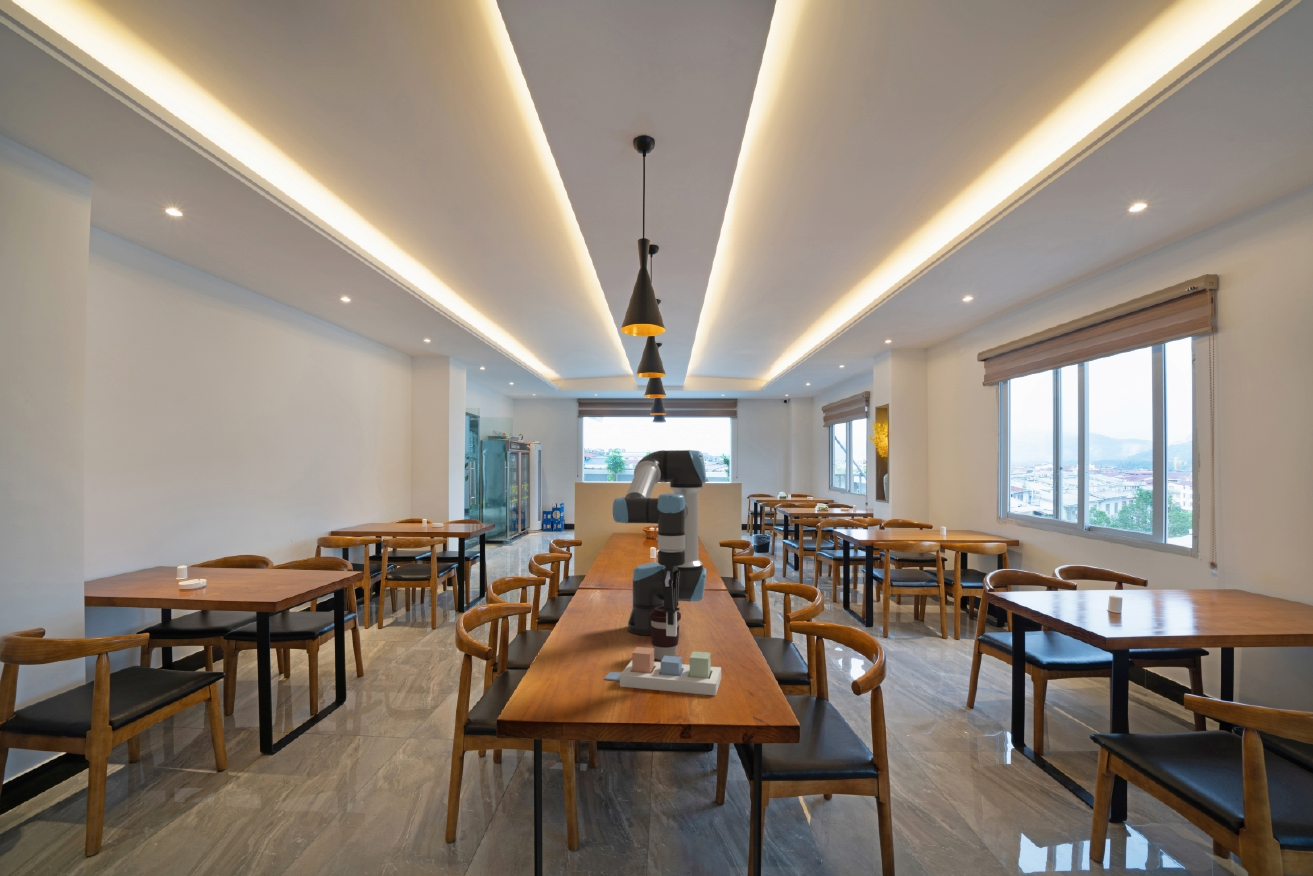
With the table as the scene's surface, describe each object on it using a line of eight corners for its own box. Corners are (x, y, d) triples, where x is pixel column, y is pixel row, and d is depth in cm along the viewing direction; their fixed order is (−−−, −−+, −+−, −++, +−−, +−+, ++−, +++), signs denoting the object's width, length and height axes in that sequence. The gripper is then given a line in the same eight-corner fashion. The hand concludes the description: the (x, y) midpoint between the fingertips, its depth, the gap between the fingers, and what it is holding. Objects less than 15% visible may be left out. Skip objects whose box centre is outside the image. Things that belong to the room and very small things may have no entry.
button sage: (692, 670, 156) (692, 651, 156) (710, 672, 155) (710, 652, 155) (689, 677, 151) (689, 657, 151) (708, 678, 150) (708, 659, 150)
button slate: (664, 674, 158) (664, 655, 158) (682, 675, 157) (682, 657, 157) (660, 681, 153) (660, 661, 153) (678, 682, 152) (678, 663, 152)
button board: (631, 670, 164) (631, 659, 164) (721, 678, 158) (721, 667, 158) (619, 686, 152) (619, 675, 152) (715, 695, 146) (715, 684, 146)
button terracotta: (637, 665, 160) (637, 647, 160) (654, 667, 159) (654, 648, 159) (632, 672, 155) (632, 652, 155) (649, 673, 154) (649, 654, 154)
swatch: (610, 673, 161) (610, 671, 161) (626, 674, 160) (626, 673, 160) (604, 679, 157) (604, 678, 157) (621, 681, 155) (621, 679, 155)
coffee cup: (678, 664, 169) (678, 613, 169) (645, 661, 171) (646, 611, 171) (683, 653, 178) (683, 605, 179) (652, 650, 180) (652, 603, 181)
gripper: (663, 545, 163) (663, 627, 163) (652, 553, 151) (652, 642, 150) (688, 546, 162) (689, 629, 161) (680, 554, 149) (680, 644, 148)
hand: (671, 635), depth 156 cm, fingers closed
